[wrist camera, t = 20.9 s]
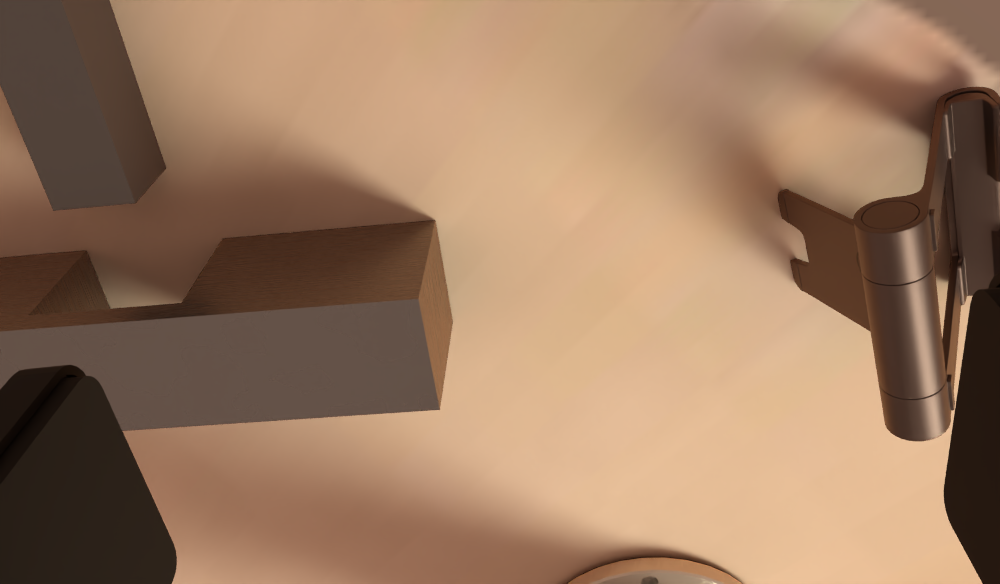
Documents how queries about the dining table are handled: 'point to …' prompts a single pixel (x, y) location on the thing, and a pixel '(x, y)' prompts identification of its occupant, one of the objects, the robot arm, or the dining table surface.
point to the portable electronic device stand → (913, 261)
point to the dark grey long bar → (77, 102)
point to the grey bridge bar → (248, 329)
